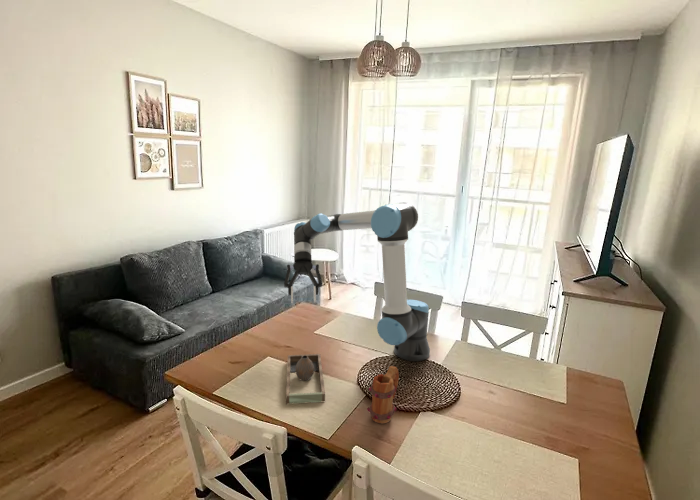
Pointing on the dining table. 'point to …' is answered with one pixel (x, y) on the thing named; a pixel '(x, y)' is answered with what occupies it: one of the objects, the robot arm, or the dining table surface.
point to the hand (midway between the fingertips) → (303, 301)
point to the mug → (383, 395)
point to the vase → (304, 368)
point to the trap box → (305, 396)
